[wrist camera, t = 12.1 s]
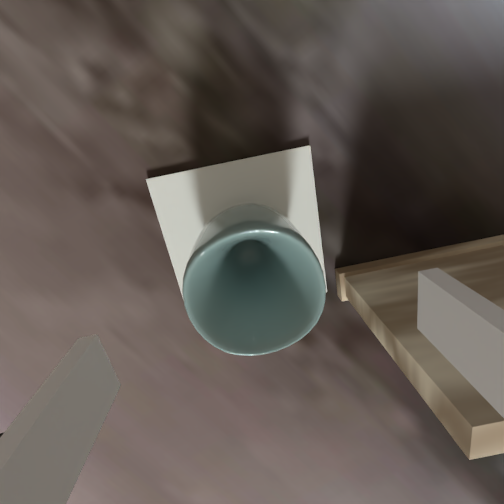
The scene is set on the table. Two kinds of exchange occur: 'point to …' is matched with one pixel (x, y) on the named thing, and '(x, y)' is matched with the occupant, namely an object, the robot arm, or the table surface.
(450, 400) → the wooden board
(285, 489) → the table surface
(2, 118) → the table surface
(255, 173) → the pad
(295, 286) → the cup
